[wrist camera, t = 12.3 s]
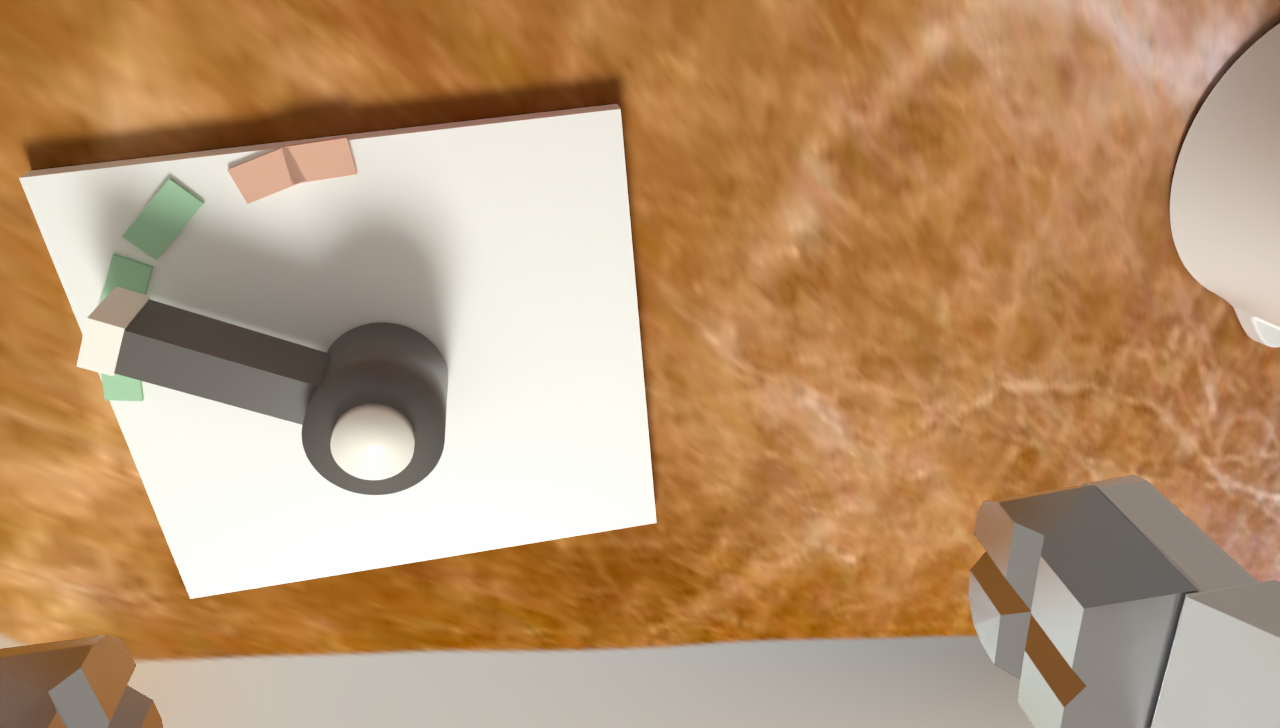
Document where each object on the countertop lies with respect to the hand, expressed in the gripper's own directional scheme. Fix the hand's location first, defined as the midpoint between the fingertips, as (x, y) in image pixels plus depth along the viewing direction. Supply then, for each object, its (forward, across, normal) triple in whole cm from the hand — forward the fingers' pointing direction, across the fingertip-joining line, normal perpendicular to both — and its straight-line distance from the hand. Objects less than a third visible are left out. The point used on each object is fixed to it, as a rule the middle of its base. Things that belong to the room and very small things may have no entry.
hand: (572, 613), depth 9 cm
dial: (+28, +11, +10) cm, 32 cm away
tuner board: (+30, +8, +12) cm, 33 cm away
